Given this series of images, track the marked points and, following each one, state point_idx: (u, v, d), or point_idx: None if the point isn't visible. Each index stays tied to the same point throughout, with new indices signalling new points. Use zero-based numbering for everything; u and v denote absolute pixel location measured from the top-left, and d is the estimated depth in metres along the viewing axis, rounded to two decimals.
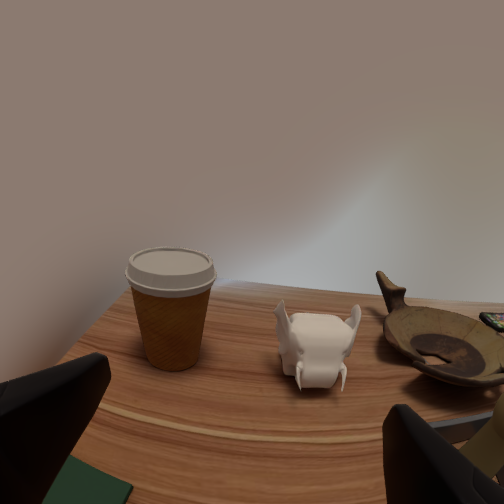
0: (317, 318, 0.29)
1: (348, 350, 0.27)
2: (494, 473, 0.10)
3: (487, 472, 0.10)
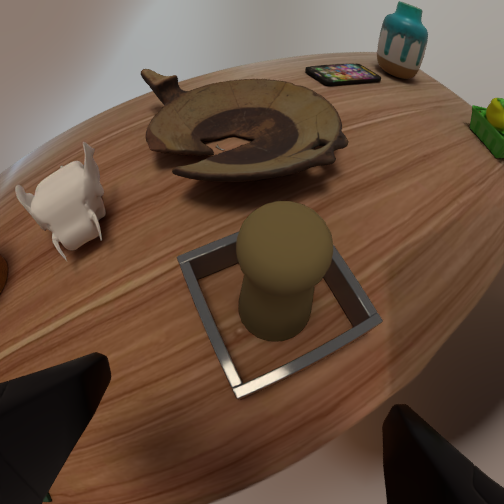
0: (52, 180, 0.22)
1: (88, 196, 0.23)
2: (297, 315, 0.19)
3: (280, 318, 0.18)
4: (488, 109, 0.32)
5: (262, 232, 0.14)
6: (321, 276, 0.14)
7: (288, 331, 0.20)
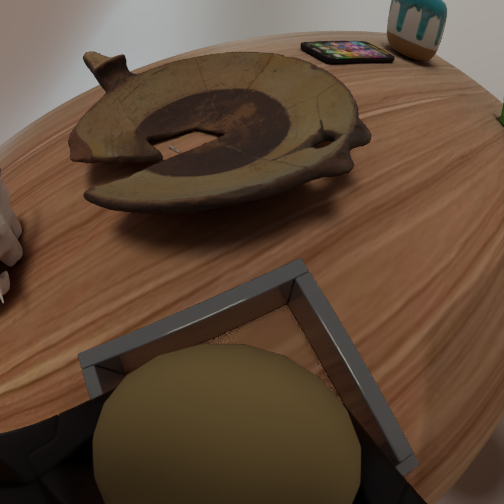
0: None
1: None
2: None
3: None
4: None
5: (133, 485, 0.03)
6: None
7: None
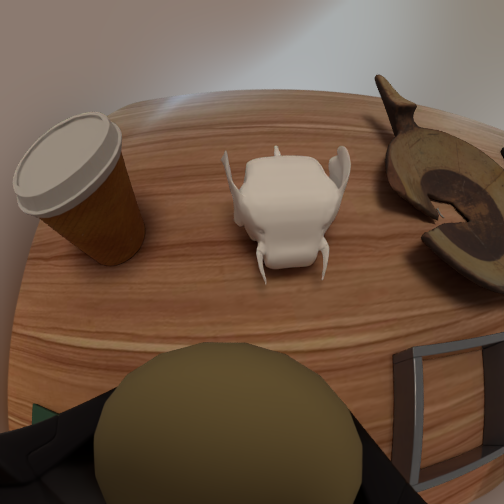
0: (283, 171, 0.20)
1: (331, 221, 0.20)
2: None
3: None
4: None
5: (134, 484, 0.03)
6: None
7: None
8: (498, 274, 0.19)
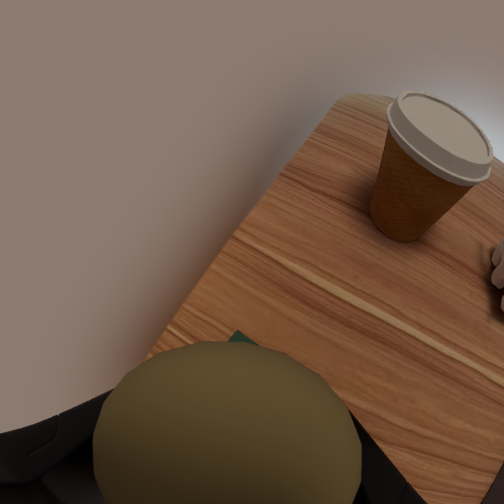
0: None
1: None
2: None
3: None
4: None
5: (133, 483, 0.03)
6: None
7: None
8: None
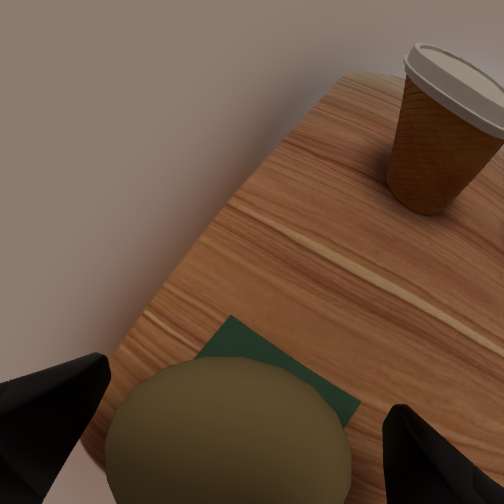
0: None
1: None
2: None
3: None
4: None
5: (144, 487, 0.03)
6: None
7: None
8: None
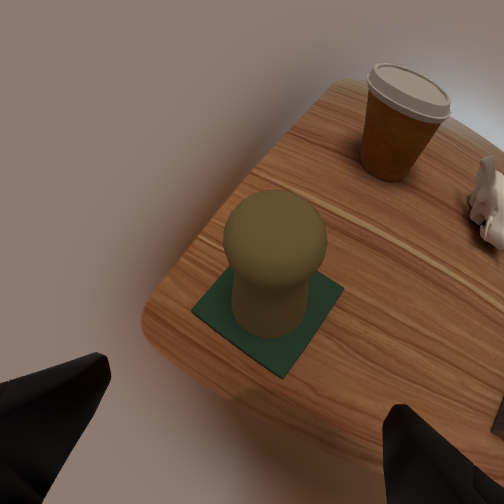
0: None
1: None
2: (292, 311, 0.18)
3: (273, 315, 0.17)
4: None
5: (250, 223, 0.13)
6: (315, 269, 0.13)
7: (283, 327, 0.20)
8: None
